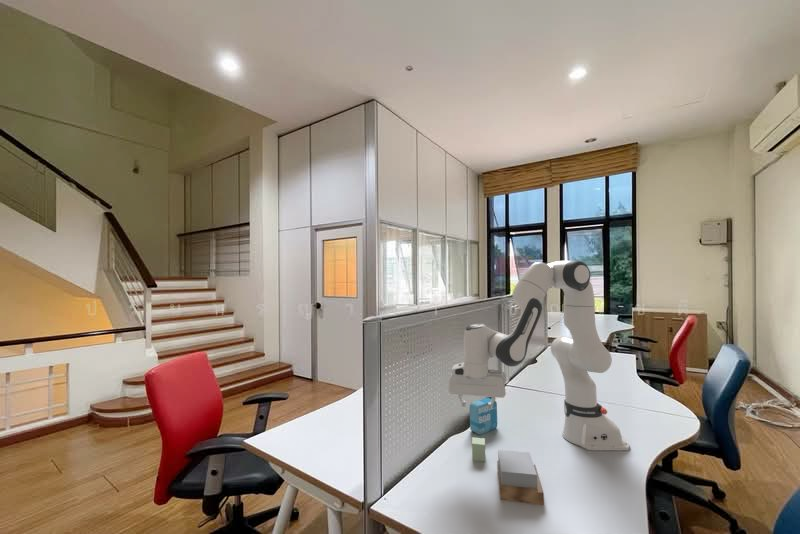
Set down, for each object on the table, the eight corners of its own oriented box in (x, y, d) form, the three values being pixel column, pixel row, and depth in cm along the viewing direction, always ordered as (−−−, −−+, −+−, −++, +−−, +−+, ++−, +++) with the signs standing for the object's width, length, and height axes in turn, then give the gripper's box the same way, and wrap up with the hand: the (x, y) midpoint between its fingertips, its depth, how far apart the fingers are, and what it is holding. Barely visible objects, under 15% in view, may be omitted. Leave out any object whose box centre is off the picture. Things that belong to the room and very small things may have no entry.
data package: (477, 435, 133) (476, 406, 134) (469, 431, 137) (469, 402, 137) (497, 427, 140) (496, 399, 140) (489, 424, 143) (488, 396, 144)
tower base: (535, 477, 106) (535, 464, 106) (544, 507, 93) (543, 492, 93) (497, 472, 109) (497, 460, 109) (500, 501, 95) (499, 487, 96)
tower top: (530, 464, 106) (529, 452, 106) (537, 488, 95) (536, 474, 95) (498, 462, 108) (498, 449, 109) (501, 484, 97) (501, 471, 97)
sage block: (485, 455, 119) (484, 438, 119) (485, 461, 115) (484, 444, 115) (472, 453, 120) (472, 437, 120) (472, 460, 116) (471, 443, 116)
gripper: (505, 368, 119) (506, 406, 118) (449, 365, 124) (449, 401, 123) (506, 373, 113) (507, 413, 112) (447, 369, 118) (448, 408, 117)
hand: (476, 407), depth 118 cm, fingers open, 8 cm apart
